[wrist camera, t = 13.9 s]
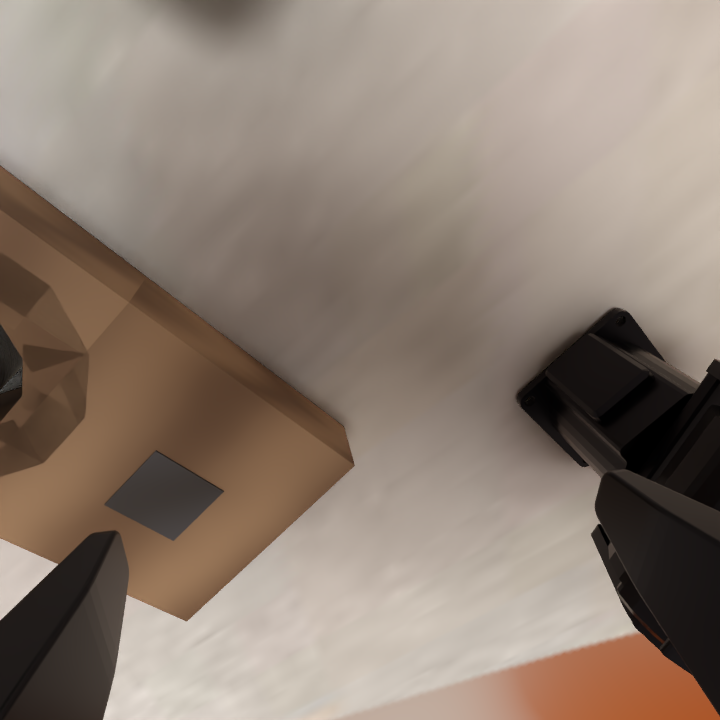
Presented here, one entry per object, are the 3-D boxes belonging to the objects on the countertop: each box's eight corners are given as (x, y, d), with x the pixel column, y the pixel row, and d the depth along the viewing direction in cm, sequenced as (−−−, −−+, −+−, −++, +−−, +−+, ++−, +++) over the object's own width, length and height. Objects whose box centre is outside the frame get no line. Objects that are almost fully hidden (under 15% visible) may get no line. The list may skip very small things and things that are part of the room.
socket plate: (343, 426, 24) (355, 466, 21) (194, 569, 26) (186, 622, 23) (-84, 102, 16) (-154, 99, 13) (-252, 346, 18) (-344, 387, 15)
